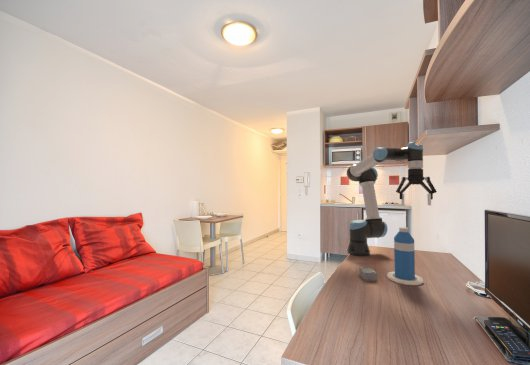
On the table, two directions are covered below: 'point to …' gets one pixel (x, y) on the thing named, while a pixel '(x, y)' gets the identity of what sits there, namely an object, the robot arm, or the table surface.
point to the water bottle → (404, 255)
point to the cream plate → (416, 281)
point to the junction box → (368, 274)
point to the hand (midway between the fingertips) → (415, 205)
